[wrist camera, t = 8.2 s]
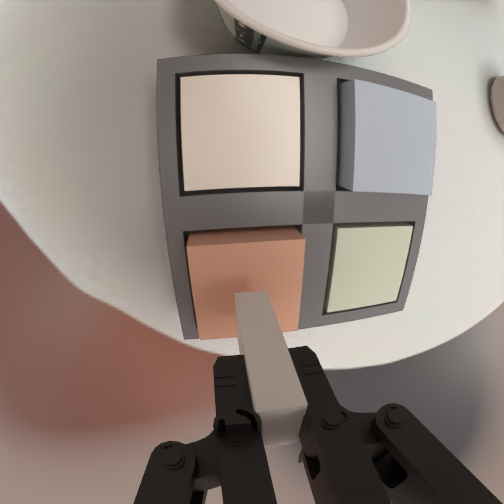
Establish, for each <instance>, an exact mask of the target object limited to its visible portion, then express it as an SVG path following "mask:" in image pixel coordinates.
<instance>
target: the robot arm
mask: <svg viewBox="0 0 504 504" xmlns="http://www.w3.org/2000/svg"><path fill="white" fill-rule="evenodd" d="M235 304H236V321H237V337H238V344H239V350H240V355H233V356H221V357H218V358H217V360H216V362H215V364H214V366H213V371H214V387H215V388H214V389H215V403H216V404H215V405H216V417H215V419H214V424H213V427H214V430H213V431H212V433H211V434H210V435H208V436H207V437H206V438H203V439H201V440H199V441H196V442H192V443H189V444H183V443H180V442H177V441H168V442H164V443H161V444H160V445H158V446H157V447H155V449H154V450H153V452H152V453H151V456H150V459H149V461H148V464H147V467H146V470H145V473H144V475H143V478H142V481H141V484H140V487H139V489H138V492H137V495H136V498H135V501H134V504H205V500H206V495H207V491H208V490H209V489H212V488H215V487H218V486H221V488H222V496H223V504H277V501H276V497H275V493H274V488H273V484H272V480H271V475H270V471H269V466H268V462H267V457H266V453H265V448H269V447H275V446H281V445H287V444H292V443H297V442H298V439H299V438H300V442H301V445H302V449H301V452H300V455H299V458H298V459H299V463H300V462H302V460H303V464H304V467H305V470H306V474H307V477H308V480H309V484H310V487H311V490H312V494H313V496H314V500H315V503H316V504H391V502H392V503H393V504H502V503H501V502H500V501H499V500H498V499H497V498H496V497H495V496H494V495H493V494H492V493H491V492H490V491H489V490H488V489H487V488H486V487H485V486H484V485H483V484H482V483H481V482H480V481H479V480H478V479H477V478H476V477H475V476H474V475H473V474H472V473H471V472H470V471H469V470H468V469H467V468H466V467H465V466H464V465H463V464H462V463H461V462H460V461H459V460H458V459H457V458H456V457H455V456H454V455H453V454H452V453H451V452H450V451H449V450H448V449H447V448H446V447H445V446H444V445H443V444H442V443H441V442H440V441H439V440H438V439H437V438H436V437H435V436H434V435H433V434H432V433H431V432H430V431H429V430H428V429H427V428H426V427H425V426H424V425H423V424H422V423H421V422H420V421H419V420H418V419H417V418H416V417H415V416H414V415H413V414H412V413H411V412H410V411H409V410H408V409H406V408H405V407H404V406H402V405H399V404H387V405H385V406H383V407H381V408H380V409H379V410H378V412H377V413H355V412H351V411H348V410H347V409H345V408H344V407H342V406H341V405H340V404H339V403H338V401H337V399H336V397H335V395H334V393H333V391H332V388H331V386H330V384H329V382H328V379H327V377H326V375H325V373H324V372H323V369H322V366H321V365H320V362H319V360H318V358H317V356H316V354H315V353H314V352H313V351H312V350H311V349H310V348H309V347H308V346H302V347H295V348H287V345H286V342H285V340H284V337H283V334H282V331H281V329H280V326H279V323H278V320H277V318H276V315H275V312H274V309H273V306H272V304H271V301H270V298H269V295H268V293H267V290H265V291H253V292H241V293H235ZM390 501H391V502H390Z"/></svg>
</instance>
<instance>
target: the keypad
mask: <svg viewBox="0 0 504 504" xmlns="http://www.w3.org/2000/svg"><path fill="white" fill-rule="evenodd" d="M224 74H258V75H279V76H293V77H299V82H300V183H299V186H275V187H243V188H223V189H207V190H192V191H185V190H184V175H183V158H182V135H181V77H189V76H203V75H224ZM353 79H357V80H362V81H367V82H371V83H375V84H379V85H383V86H387V87H390V88H394V89H398V90H401V91H404V92H408V93H411V94H414V95H417V96H420V97H423V98H426V99H428V100H431V101H433V96H432V90H431V89H428V88H425V87H423V86H420V85H417V84H414V83H412V82H409V81H406V80H403V79H399V78H396V77H393V76H390V75H386V74H383V73H379V72H375V71H371V70H367V69H363V68H359V67H355V66H350V65H345V64H340V63H335V62H329V61H323V60H317V59H309V58H301V57H292V56H281V55H266V54H208V55H193V56H182V57H173V58H165V59H158V60H157V136H158V155H159V170H160V183H161V194H162V204H163V214H164V223H165V231H166V239H167V246H168V253H169V260H170V266H171V273H172V279H173V285H174V290H175V296H176V302H177V307H178V312H179V317H180V322H181V327H182V332H183V336H184V340H185V339H200V338H199V333H198V327H197V321H196V314H195V308H194V301H193V294H192V287H191V280H190V273H189V265H188V256H187V248H186V246H187V242H188V237H189V233H190V231H195V230H209V229H225V228H241V227H259V226H278V225H293V226H294V227H295V228H296V229H297V230H298V231H299V232H300V233H301V235H302V236H303V237H304V238H305V254H304V268H303V280H302V292H301V303H300V313H299V323H298V329H305V328H312V327H318V326H325V325H331V324H337V323H343V322H348V321H354V320H359V319H364V318H369V317H374V316H379V315H384V314H388V313H393V312H397V311H402V310H403V309H404V306H405V302H406V299H407V296H408V292H409V289H410V285H411V281H412V278H413V274H414V270H415V266H416V262H417V257H418V253H419V248H420V243H421V238H422V233H423V228H424V222H425V216H426V210H427V203H428V195H420V194H405V193H385V192H356V191H351V190H348V189H346V188H344V187H341V186H339V185H337V184H336V170H337V131H338V111H337V85H338V84H341V83H344V82H347V81H350V80H353ZM397 221H405V222H407V223H408V224H410V225H412V226H413V229H412V235H411V240H410V245H409V250H408V255H407V260H406V264H405V268H404V273H403V277H402V281H401V285H400V288H399V292H398V296H397V299H396V301H391V302H386V303H381V304H376V305H370V306H365V307H359V308H353V309H347V310H341V311H334V312H328V313H327V312H326V310H325V308H324V307H323V305H324V298H325V291H326V284H327V276H328V268H329V260H330V250H331V241H332V230H333V223H354V222H397Z"/></svg>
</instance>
